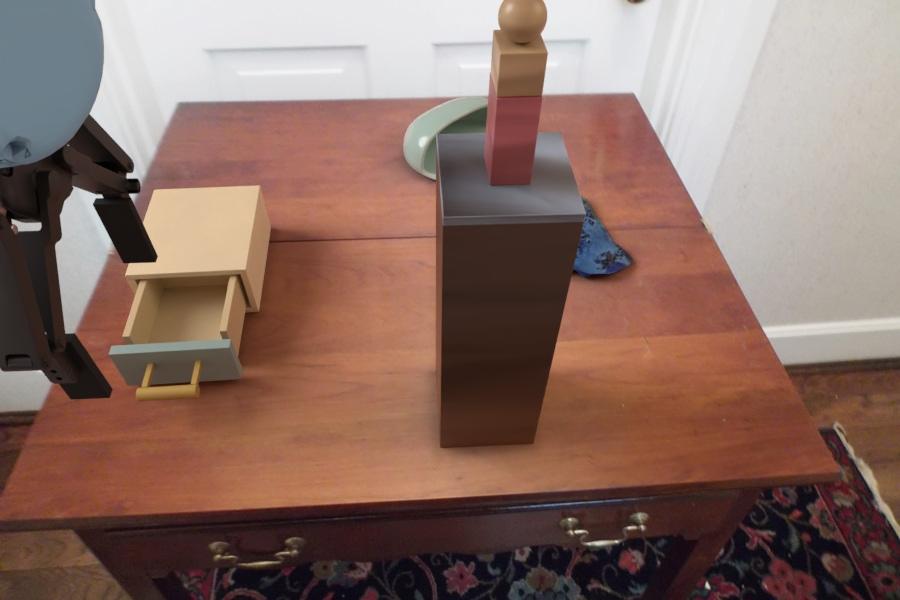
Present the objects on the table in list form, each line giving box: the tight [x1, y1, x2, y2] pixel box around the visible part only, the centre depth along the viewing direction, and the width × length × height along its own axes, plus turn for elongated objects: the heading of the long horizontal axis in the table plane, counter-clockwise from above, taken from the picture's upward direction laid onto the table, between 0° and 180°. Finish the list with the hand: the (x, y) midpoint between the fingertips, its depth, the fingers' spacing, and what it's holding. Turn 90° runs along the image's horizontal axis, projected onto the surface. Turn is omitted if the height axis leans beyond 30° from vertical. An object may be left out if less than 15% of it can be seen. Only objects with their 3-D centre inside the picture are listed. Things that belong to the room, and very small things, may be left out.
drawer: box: [108, 274, 248, 402], centre depth 73 cm, size 19×12×6 cm, turn 5°
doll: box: [484, 0, 549, 185], centre depth 43 cm, size 4×3×13 cm
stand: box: [435, 131, 586, 449], centre depth 60 cm, size 10×10×32 cm
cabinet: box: [124, 184, 272, 314], centre depth 82 cm, size 16×14×8 cm
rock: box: [573, 195, 633, 278], centre depth 89 cm, size 15×17×2 cm
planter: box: [402, 95, 488, 181], centre depth 101 cm, size 19×7×16 cm
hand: (118, 321), depth 51 cm, fingers open, 13 cm apart
